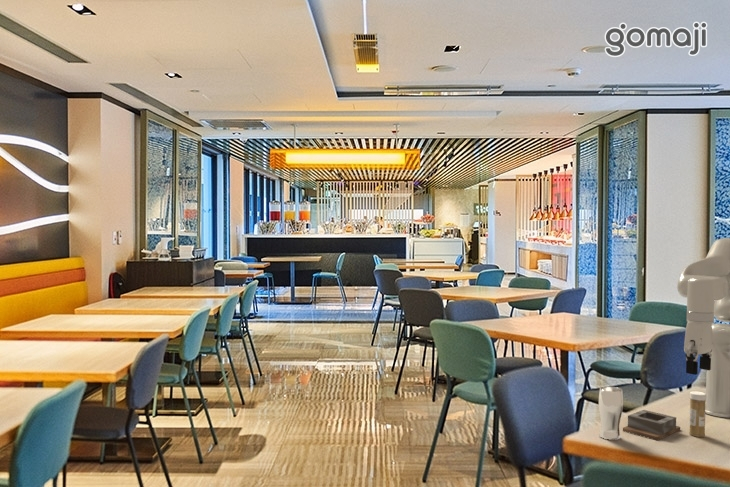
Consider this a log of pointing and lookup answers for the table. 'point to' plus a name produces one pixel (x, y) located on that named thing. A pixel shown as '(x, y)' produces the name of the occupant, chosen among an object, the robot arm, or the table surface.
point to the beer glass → (610, 412)
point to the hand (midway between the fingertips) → (698, 371)
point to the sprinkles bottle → (697, 414)
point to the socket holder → (651, 424)
